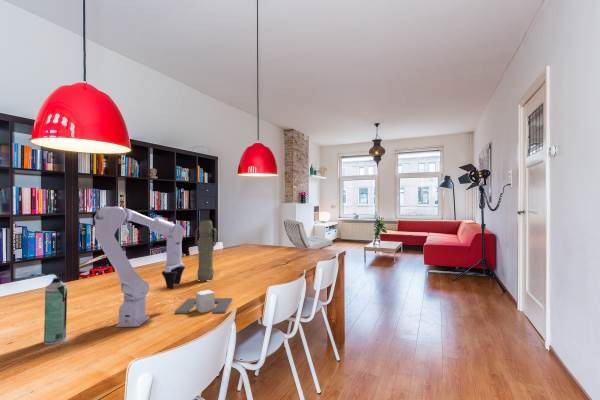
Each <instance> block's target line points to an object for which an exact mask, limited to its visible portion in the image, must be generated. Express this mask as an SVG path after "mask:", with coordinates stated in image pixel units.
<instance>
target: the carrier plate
mask: <svg viewBox="0 0 600 400" xmlns="http://www.w3.org/2000/svg"><path fill="white" fill-rule="evenodd" d="M232 302H233V297H222V298H221V297H218V298H216V297H215V304H216V306H215V308H214V310H213V311H212V314H226V313H227V311H228V309H229V308H230V306H231V304H232ZM194 307H196V298H187V299H186V300H185V301H183V303H182V304H181V305H180V306H179V307H177V309H176V310H175V311H174V314H176V315H177V314H178V313H179V314H181V313H182V314H184V313H186V314H189V313H190V311H192V309H193V308H194ZM182 314H181V315H182ZM186 314H185V315H186Z"/></svg>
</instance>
